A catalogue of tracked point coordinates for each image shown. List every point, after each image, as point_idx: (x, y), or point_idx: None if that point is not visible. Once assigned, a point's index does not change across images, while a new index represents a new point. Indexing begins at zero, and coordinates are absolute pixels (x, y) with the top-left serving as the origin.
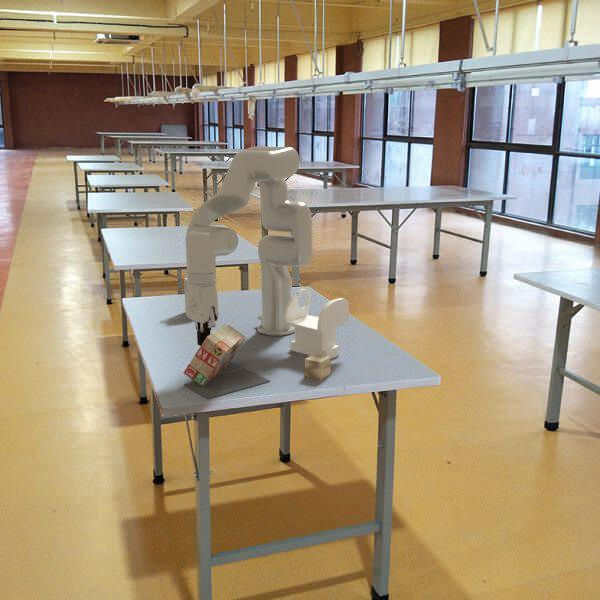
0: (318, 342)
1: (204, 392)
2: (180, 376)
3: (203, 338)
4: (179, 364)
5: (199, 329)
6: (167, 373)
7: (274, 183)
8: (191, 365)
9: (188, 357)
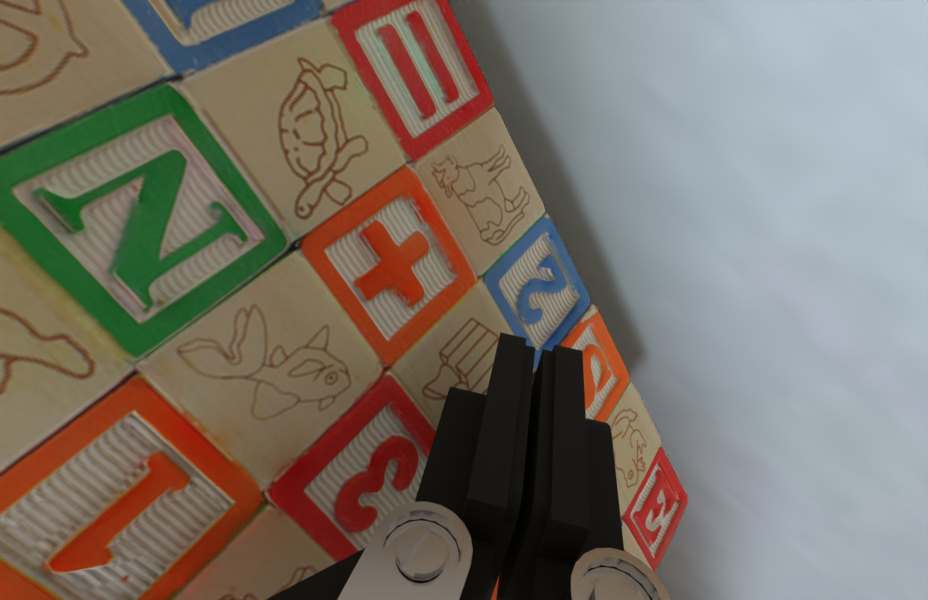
0: None
1: None
2: (667, 47)
3: (454, 431)
4: (893, 251)
5: (568, 582)
6: (857, 4)
7: None
8: None
9: (917, 394)
